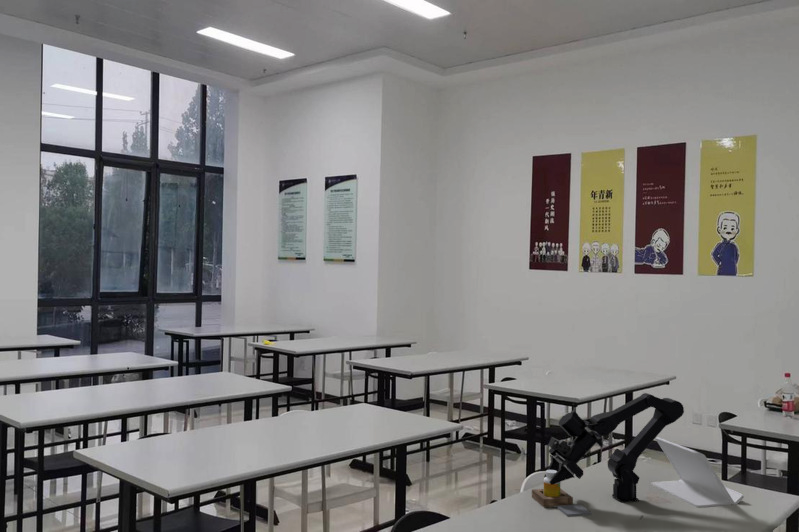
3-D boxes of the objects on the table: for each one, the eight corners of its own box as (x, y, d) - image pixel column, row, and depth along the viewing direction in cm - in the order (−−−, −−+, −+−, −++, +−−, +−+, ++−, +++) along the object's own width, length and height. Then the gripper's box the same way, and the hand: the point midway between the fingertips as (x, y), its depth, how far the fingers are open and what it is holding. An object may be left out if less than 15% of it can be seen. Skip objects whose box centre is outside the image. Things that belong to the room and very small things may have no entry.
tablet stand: (697, 508, 213) (697, 454, 213) (649, 484, 237) (649, 436, 238) (745, 503, 217) (744, 451, 218) (693, 481, 242) (693, 434, 242)
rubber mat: (580, 506, 214) (580, 504, 214) (591, 514, 206) (591, 512, 206) (556, 507, 212) (556, 505, 212) (567, 516, 204) (567, 514, 204)
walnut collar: (559, 495, 224) (559, 487, 224) (572, 505, 214) (572, 497, 214) (531, 497, 222) (531, 489, 222) (543, 507, 213) (543, 499, 213)
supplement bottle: (560, 504, 215) (560, 474, 215) (543, 503, 216) (543, 473, 217) (560, 499, 221) (560, 469, 221) (543, 498, 222) (543, 468, 222)
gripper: (554, 423, 229) (522, 456, 227) (573, 436, 210) (539, 472, 209) (576, 445, 229) (545, 479, 228) (597, 460, 211) (564, 496, 209)
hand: (547, 480), depth 218 cm, fingers closed on supplement bottle, 5 cm apart
